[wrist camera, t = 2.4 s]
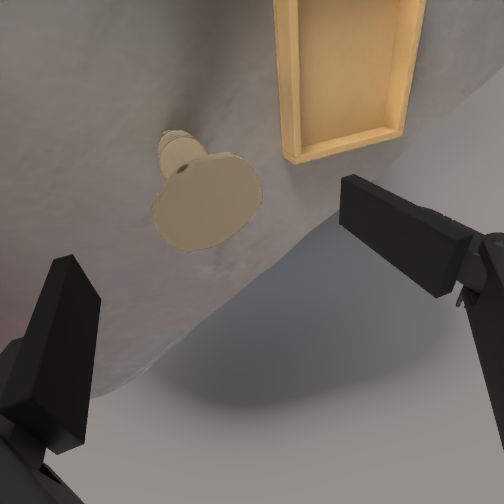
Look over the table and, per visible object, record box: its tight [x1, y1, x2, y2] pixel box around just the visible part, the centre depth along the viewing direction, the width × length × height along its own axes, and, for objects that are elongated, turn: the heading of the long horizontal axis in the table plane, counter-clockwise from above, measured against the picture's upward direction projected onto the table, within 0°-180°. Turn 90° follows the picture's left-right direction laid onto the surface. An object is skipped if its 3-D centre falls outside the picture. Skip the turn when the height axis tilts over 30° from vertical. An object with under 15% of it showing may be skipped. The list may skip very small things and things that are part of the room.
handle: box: [152, 130, 263, 253], centre depth 22 cm, size 5×6×15 cm
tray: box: [273, 0, 426, 165], centre depth 28 cm, size 17×14×3 cm
